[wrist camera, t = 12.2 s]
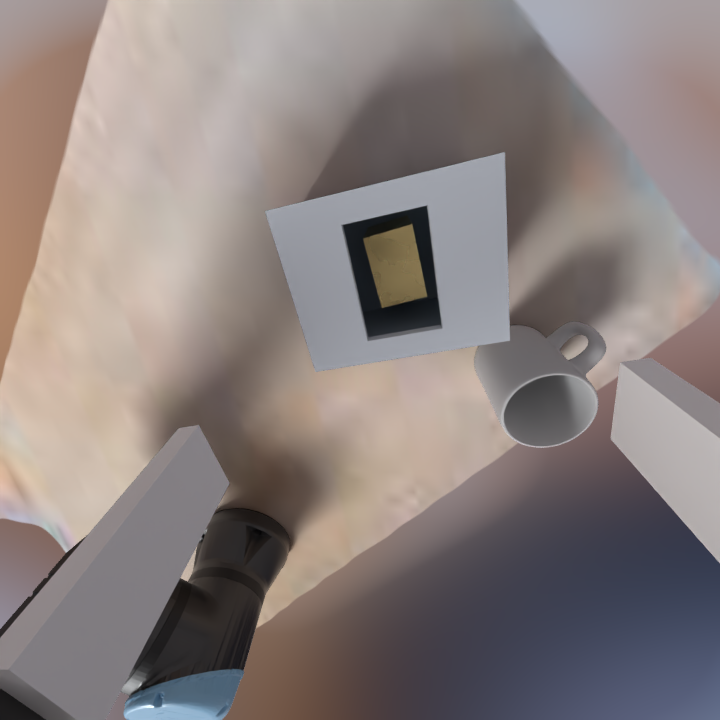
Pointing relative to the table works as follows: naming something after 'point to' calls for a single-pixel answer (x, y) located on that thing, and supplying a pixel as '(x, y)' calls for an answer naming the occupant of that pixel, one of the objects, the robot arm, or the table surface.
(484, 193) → the grey box with hole
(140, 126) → the table surface
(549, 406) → the mug
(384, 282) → the gold rectangular block
